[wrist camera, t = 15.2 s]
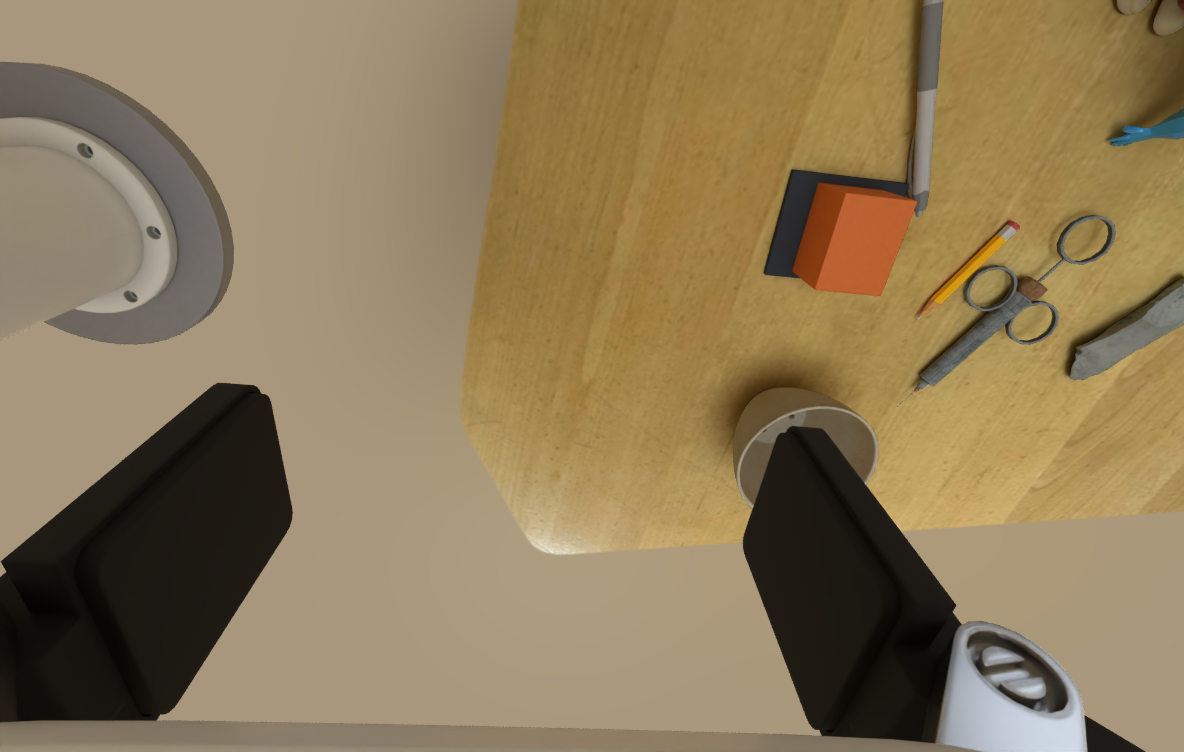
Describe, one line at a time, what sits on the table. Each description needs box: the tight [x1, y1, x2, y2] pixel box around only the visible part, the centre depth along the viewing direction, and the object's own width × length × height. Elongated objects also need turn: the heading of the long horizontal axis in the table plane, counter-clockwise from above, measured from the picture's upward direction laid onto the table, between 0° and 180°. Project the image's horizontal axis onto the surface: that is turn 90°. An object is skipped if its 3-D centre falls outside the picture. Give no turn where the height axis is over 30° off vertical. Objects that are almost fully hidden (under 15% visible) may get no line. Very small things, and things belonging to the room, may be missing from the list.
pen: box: [907, 0, 943, 217], centre depth 32 cm, size 1×14×1 cm, turn 13°
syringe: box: [898, 215, 1116, 406], centre depth 39 cm, size 8×18×2 cm, turn 145°
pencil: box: [917, 221, 1020, 319], centre depth 38 cm, size 1×8×1 cm
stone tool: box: [1070, 278, 1184, 380], centre depth 41 cm, size 10×2×5 cm
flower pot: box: [733, 387, 879, 509], centre depth 40 cm, size 10×10×7 cm
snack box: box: [792, 183, 917, 296], centre depth 34 cm, size 6×4×4 cm
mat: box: [764, 170, 909, 278], centre depth 36 cm, size 8×7×1 cm
